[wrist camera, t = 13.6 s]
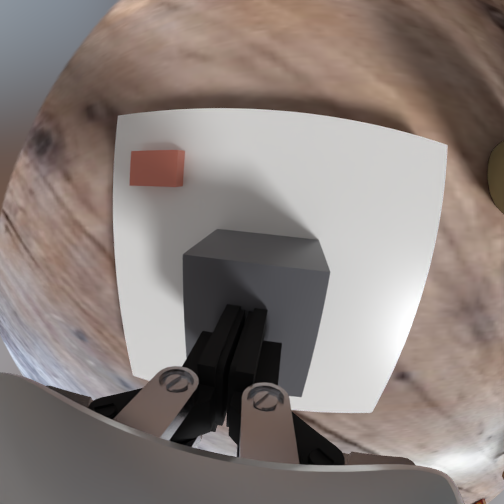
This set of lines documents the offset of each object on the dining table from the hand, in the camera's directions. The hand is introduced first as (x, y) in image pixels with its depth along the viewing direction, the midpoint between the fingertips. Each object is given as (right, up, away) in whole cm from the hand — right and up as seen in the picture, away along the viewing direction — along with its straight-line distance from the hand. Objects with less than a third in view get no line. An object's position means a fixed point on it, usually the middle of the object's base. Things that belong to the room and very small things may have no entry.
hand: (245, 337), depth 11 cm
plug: (+1, +1, +8) cm, 8 cm away
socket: (+1, +2, +8) cm, 8 cm away
